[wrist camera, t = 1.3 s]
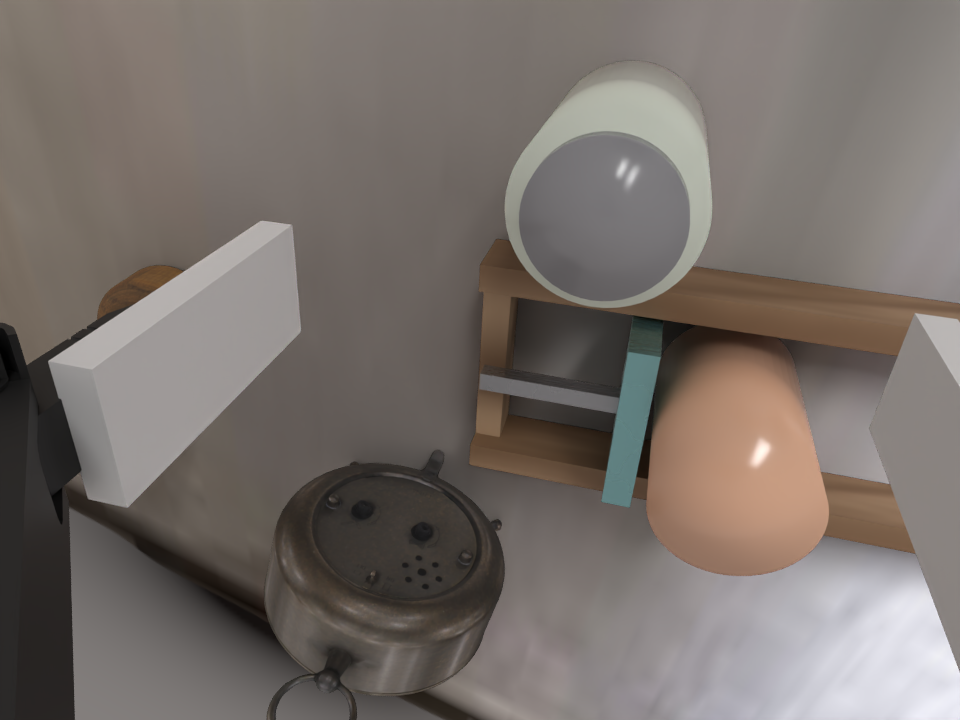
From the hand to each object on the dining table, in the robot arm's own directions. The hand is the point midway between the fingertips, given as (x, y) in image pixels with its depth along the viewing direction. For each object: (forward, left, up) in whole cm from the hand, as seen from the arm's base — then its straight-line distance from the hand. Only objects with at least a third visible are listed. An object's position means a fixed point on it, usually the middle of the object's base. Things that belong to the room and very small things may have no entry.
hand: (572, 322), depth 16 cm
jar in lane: (+10, +6, -16) cm, 19 cm away
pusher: (+10, -1, -15) cm, 18 cm away
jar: (0, 0, -16) cm, 16 cm away
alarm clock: (+19, -8, -16) cm, 26 cm away
